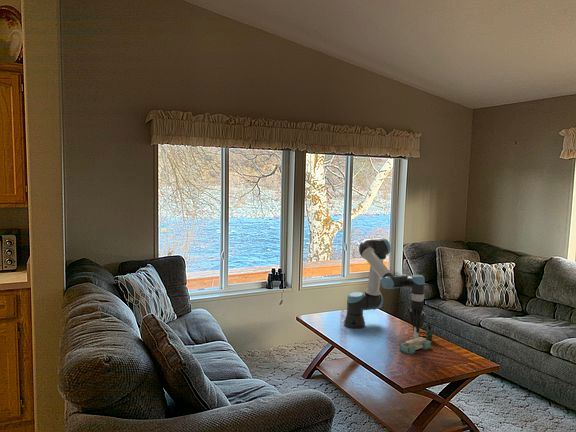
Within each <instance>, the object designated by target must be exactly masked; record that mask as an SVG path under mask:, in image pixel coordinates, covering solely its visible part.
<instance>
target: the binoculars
mask: <svg viewBox="0 0 576 432" xmlns="http://www.w3.org/2000/svg"><path fill="white" fill-rule="evenodd" d="M433 333H434V330H433V329H432V326H431V323H427V326H426V331H419V333H418V338H419V337H423V338H426V340H428V341H430V342H431V343H433V341H434V340H433ZM420 334H424V335H420Z"/></svg>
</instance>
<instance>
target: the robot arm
mask: <svg viewBox="0 0 576 432" xmlns="http://www.w3.org/2000/svg"><path fill="white" fill-rule="evenodd" d="M358 253H359V254H360V256H361V258H362V259H363V260H365V261H366V262H367V263H368V264H369V272H368V273H369V274H368V280H367V281H368V282H367V288H366V289H365V290H364V293H363V292H360V291H353V292H350V293H349V294H348V295H347V297H346V298H347V299H346V316H345V318H344V321H343V325H344V326H345V327H347V328H351V329H362V328H364V327H366V322H365V317H364V311H369V310H370V311H371V310H378V309H380V308H381V307H382V306H383V304H384V296H383V295H382V293H381V290H380V287H382V288H383V289H385V290H391V289H392V290H393V289H398V288H399V289H402V288H408V289H411V300H410V305H411V307H410V308H407V312H408V316H409V324H410V325H411V326H412V331H413V338H414V339H416V338H419V336H418V335H419V334H418V333H419V332H420V328H422V327H423V326H424V322H425V319H426V316H427V313H426V312H424V305H425V301H424V300H425V284H426V282H425V280H426V279H425V276H424V275H422V274H412V275H410V274H405V273H404V274H403V273H402V274H401V275H394V274H393V273H392V272H391V271H390V269H388V267H387V266H386V265H385V264H384V260H386V258H387V256H388V255H389V254H390V253H391V244H390V241H388V239H387V238H384V237H383V238H382V237H380V238H379V237H378V238H377V237H376V238H366V239H362V241H361V242H360V244H359V247H358Z"/></svg>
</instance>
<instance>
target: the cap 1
mask: <svg viewBox="0 0 576 432" xmlns="http://www.w3.org/2000/svg"><path fill="white" fill-rule="evenodd" d="M399 352H402V353H405V354H407V355H412V354H415V353H416V350H415V346H412V347H407V346H405V342H402V343H399Z"/></svg>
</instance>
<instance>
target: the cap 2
mask: <svg viewBox="0 0 576 432" xmlns="http://www.w3.org/2000/svg"><path fill="white" fill-rule="evenodd" d="M431 348H432V342H430V341H428V339H427V340H426V343H424V347H423V348H421V349H422V350H429V349H431Z"/></svg>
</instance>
